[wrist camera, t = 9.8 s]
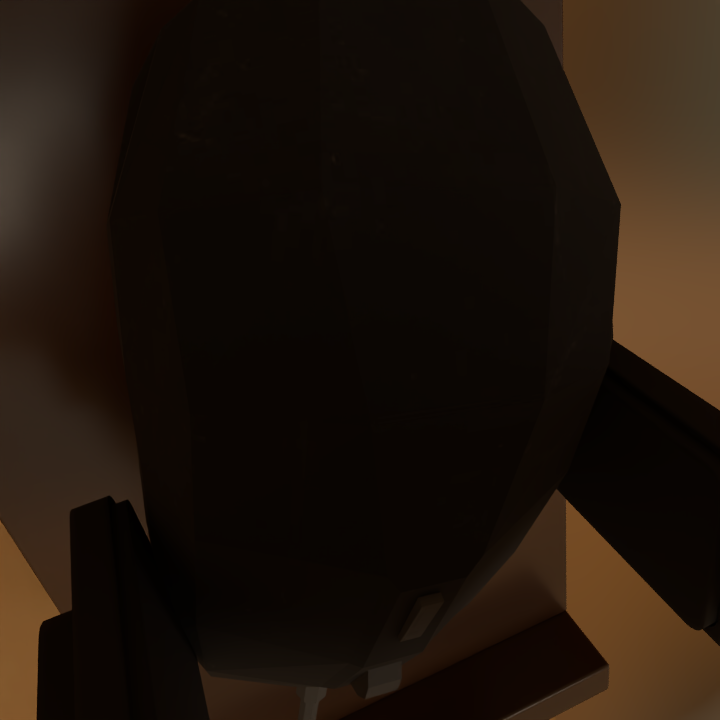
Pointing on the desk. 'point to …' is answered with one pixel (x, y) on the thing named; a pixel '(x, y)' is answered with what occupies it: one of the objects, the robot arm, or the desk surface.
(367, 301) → the gaming mouse
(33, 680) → the desk surface
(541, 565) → the shelf
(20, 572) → the desk surface
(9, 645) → the desk surface
